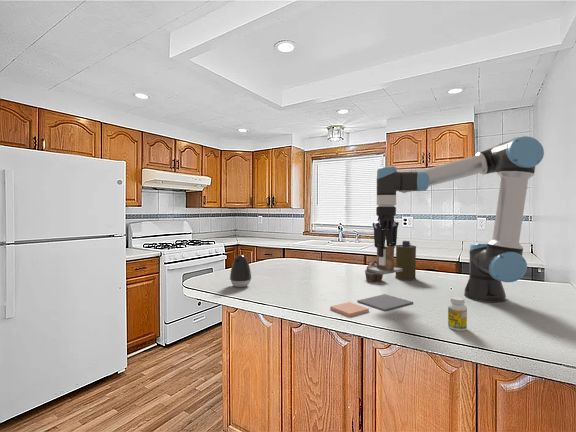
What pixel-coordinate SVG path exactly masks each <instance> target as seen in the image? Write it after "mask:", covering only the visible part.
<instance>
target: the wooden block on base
mask: <svg viewBox="0 0 576 432" xmlns="http://www.w3.org/2000/svg"><path fill="white" fill-rule="evenodd" d="M384 249H386V266H383V265H379V256H378V253H379V249H378V248H376V262H377V267H374V268H368V269H367V268H366V269H367V271H369V272H374V273H378V274H383V276H385V275H388V274H394V273H395V274H396V272H401V271H403V268H397V267H396V266H395V248H394V247H392V246H387V245H385V247H384Z"/></svg>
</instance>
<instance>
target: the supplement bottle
mask: <svg viewBox="0 0 576 432" xmlns="http://www.w3.org/2000/svg"><path fill="white" fill-rule="evenodd" d="M465 301H466V300H465V298H463V297H459V296H451V297H450V300H449V302H450V303H448V306H447V327H448V328H449V329H451V330H453V331H458V332H463V331H466V330H467V327H468V325H467V324H468V323H467V322H468V308H467V306H466V305H465Z"/></svg>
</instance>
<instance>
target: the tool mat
mask: <svg viewBox="0 0 576 432" xmlns="http://www.w3.org/2000/svg"><path fill="white" fill-rule="evenodd" d="M357 303H358V304H359V303H360V304H361V305H362V304H363V305H366V306H368V307H372V308H374V309H378V310H380V311H383V312H387V311H391V310H394V309H397V308H402V307H406V306H409V305H412V304H414V301H411V300H407V299H404V298H400V297H397V296H394V295H390V294H387V293H384V294H380V295H375V296H371V297H366V298H363V299H362V298H361V299H358V300H357Z"/></svg>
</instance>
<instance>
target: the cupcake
mask: <svg viewBox="0 0 576 432" xmlns="http://www.w3.org/2000/svg"><path fill="white" fill-rule="evenodd" d="M374 267H377V260H376V261H375V260H373V261H371V262H370V263H369V264H368V265H367V266H366V269H365V270H364V273H365V279H366V281H367V282H369V283H370V282H371V283H380V282H382V281H383V277H384V275H383V274H378V273H374V272H369V271H367V269H368V268H374Z"/></svg>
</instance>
